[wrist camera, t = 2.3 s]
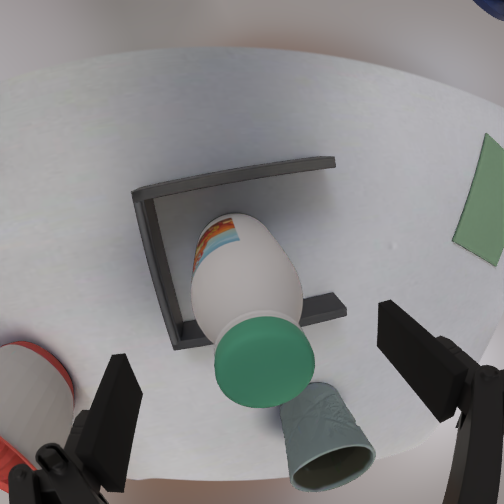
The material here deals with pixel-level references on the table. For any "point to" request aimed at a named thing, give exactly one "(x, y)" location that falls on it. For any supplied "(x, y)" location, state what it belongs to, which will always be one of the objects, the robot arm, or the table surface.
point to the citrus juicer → (31, 405)
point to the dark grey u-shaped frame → (178, 330)
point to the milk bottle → (251, 312)
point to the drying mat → (485, 206)
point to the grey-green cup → (323, 440)
